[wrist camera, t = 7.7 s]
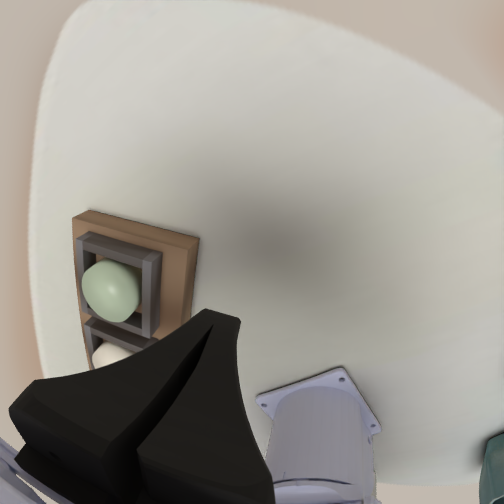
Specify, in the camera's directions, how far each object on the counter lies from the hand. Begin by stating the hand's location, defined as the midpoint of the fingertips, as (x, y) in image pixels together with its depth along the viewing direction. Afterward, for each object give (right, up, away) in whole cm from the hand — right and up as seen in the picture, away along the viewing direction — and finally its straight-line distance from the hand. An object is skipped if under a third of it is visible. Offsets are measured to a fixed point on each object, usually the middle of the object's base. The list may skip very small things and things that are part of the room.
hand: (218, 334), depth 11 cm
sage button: (-8, +1, +9) cm, 12 cm away
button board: (-8, -4, +14) cm, 17 cm away
